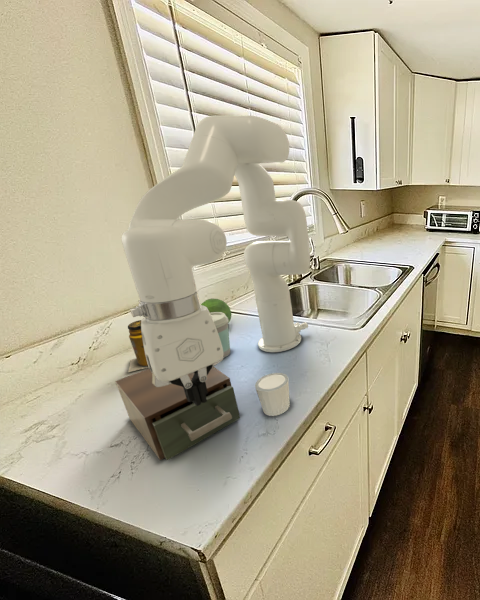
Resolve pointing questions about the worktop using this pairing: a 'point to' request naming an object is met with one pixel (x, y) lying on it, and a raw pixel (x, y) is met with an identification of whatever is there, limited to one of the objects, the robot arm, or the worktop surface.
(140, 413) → the cabinet
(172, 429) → the drawer
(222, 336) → the coffee cup
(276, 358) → the worktop surface
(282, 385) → the white candle jar
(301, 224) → the robot arm
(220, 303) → the fruit
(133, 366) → the condiment
